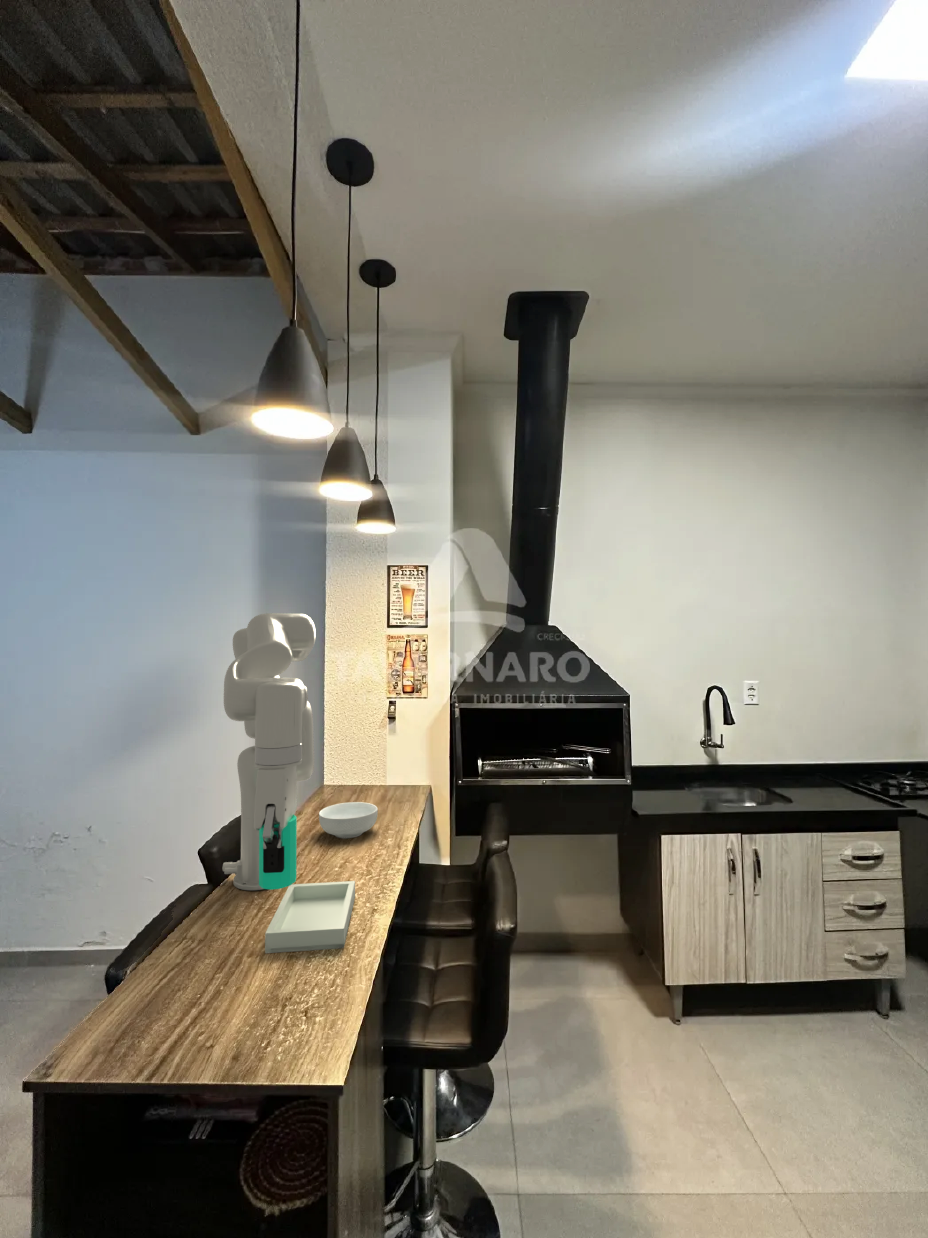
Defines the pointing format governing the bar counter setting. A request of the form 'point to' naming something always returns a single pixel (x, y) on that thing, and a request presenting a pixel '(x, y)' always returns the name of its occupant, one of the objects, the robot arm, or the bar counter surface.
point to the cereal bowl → (348, 819)
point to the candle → (290, 856)
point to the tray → (311, 917)
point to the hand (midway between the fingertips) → (278, 863)
